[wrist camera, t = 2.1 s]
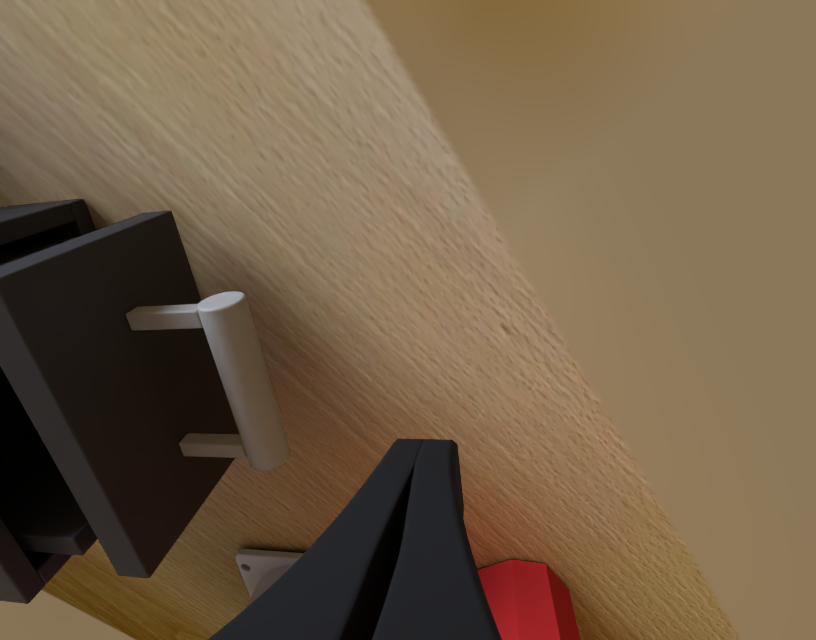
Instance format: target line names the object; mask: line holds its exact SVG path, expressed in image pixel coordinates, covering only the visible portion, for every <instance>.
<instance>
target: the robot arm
mask: <svg viewBox="0 0 816 640" xmlns="http://www.w3.org/2000/svg"><path fill="white" fill-rule="evenodd" d="M463 513H464V503H463V494H462V484H461V474H460V464H459V455H458V445H457V444H456V443H455V442H454V441H453V440H435V439H397V440H396V441H395V442H394V443H393V444H392V446H391V447H390V449H389V450H388V452H387V453H386V454H385V456H384V457H383V459H382V460H381V461H380V463H379V464H378V465H377V467H376V468H375V470H374V471H373V472H372V474H371V475H370V476H369V478H368V479H367V480H366V482H365V483H364V484H363V486H362V487H361V488H360V489H359V491H358V492H357V493H356V494H355V496H354V497H353V498H352V499H351V501H350V502H349V503H348V504H347V506H346V507H345V508H344V509H343V511H342V512H341V513H340V514H339V515H338V516H337V518H336V519H335V520H334V521H333V522H332V523H331V524H330V526H329V527H328V528H327V529H326V530H325V531H324V532H323V533H322V535H321V536H320V537H319V538H318V539H317V540H316V541H315V542H314V544H313V545H312V546H311V547H310V548H309V549H308V550H307V551H306V552H305V553H294V552H281V551H267V550H254V549H240V550H239V551H238V552H237V554H236V556H235V560H236V563H237V565H238V568H239V570H240V573H241V575H242V578H243V580H244V583H245V585H246V588H247V590H248V592H249V595H250V597H251V598H250V600H249V602H248V604H247V607H246V609H245V610H243V611H242V612H241V613H240V614H239V615H238V616H236V617H235V618H234V619H233V620H232V621H230V622H229V623H228V624H227V625H226V626H224V627H223V628H222V629H221V630H219V631H218V632H217V633H215V634H214V635H213V636H211V637H210V638H209V639H208V640H502V638H501V636H500V633H499V631H498V628H497V625H496V623H495V620H494V617H493V615H492V612H491V609H490V607H489V604H488V601H487V598H486V595H485V592H484V589H483V586H482V584H481V580H480V577H479V574H478V571H477V568H476V565H475V561H474V558H473V554H472V551H471V547H470V544H469V540H468V537H467V532H466V528H465V524H464V520H463Z"/></svg>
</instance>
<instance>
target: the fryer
mask: <svg viewBox="0 0 816 640" xmlns="http://www.w3.org/2000/svg"><path fill="white" fill-rule="evenodd" d="M93 231H96V229H95V227H94V224H93V222H92V219H91V217H90V214H89V212H88V210H87V207H86V205H85V202H84V200H83V199H74V200H65V201H55V202H46V203H36V204H27V205H17V206H8V207H0V246H2V245H5V244H8V243H17V242H29V241H40V240H52V239H64V238H76V237H80V236H83V235H85V234H88V233H91V232H93ZM71 556H72V555H69V554H57V553H46V552H34V551H23V550H22V549H21V548H20V546H19V545H18V543H17V542H16V540H15V539H14V537H13V536H12V534H11V533H10V531H9V530H8V528H7V527H6V525H5V524H4V522H3V521H2V519H1V518H0V601H8V602H17V603H26V604H28V603H30V601H31V600H32V599H33V598H34V597H35V596H36V595H37V594H38V593H39V592H40V590H41V589H42V588H43V587H44V586H45V584H46V583H48V582H49V581H50V579H51V578H52V577H53V576H54V575H55V574H56V573H57V572H58V571H59V570H60V568H61V567H62V566H63V565H64V564H65V563H66V562H67V561H68V560H69V559H70V557H71Z"/></svg>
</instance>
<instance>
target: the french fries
mask: <svg viewBox="0 0 816 640" xmlns="http://www.w3.org/2000/svg"><path fill="white" fill-rule="evenodd" d="M477 571H478V574H479V577H480V580H481V584H482V586H483V589H484V592H485V595H486V598H487V601H488V604H489V607H490V609H491V612H492V615H493V617H494V620H495V623H496V625H497V628H498V631H499V633H500V636H501V638H502V640H581V639H580V635H579V631H578V627H577V622H576V618H575V614H574V610H573V605H572V601H571V597H570V593H569V589H568V588H567V587H566V586H565V585H564V584H563V583H562V582H561V580H560V579H559V578H558V577H557V576H556V575H555V574H554V573H553V572H552V571H551V569H550V568H549V567H548V566H547V565H546V564H542V563H535V562H528V561H521V560H514V559H511V560H507V561H504V562H501V563H497V564H494V565H491V566H488V567H485V568H482V569H479V570H477Z"/></svg>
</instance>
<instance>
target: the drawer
mask: <svg viewBox="0 0 816 640" xmlns="http://www.w3.org/2000/svg"><path fill="white" fill-rule="evenodd" d="M289 456H290V447H289V443H288V440H287V436H286V433H285V429H284V426H283V422H282V419H281V416H280V412H279V409H278V405H277V402H276V398H275V395H274V391H273V388H272V385H271V381H270V378H269V374H268V371H267V367H266V364H265V360H264V357H263V354H262V350H261V347H260V343H259V340H258V336H257V333H256V329H255V326H254V323H253V319H252V316H251V312H250V309H249V305H248V302H247V298H246V296H245V294H244V293H242V292H237V291H231V292H223V293H219V294H215V295H212V296H210V297H208V298H206V299H204V300H202V301H201V298H200V295H199V292H198V289H197V286H196V283H195V280H194V277H193V274H192V271H191V268H190V265H189V262H188V259H187V256H186V253H185V250H184V247H183V244H182V241H181V238H180V235H179V232H178V229H177V226H176V223H175V220H174V217H173V214H172V212H171V211H161V212H150V213H142V214H139V215H137V216H134V217H131V218H129V219H126V220H123V221H120V222H118V223H115V224H112V225H110V226H107V227H104V228H101V229H99V230H96V231H93V232H91V233H88V234H85V235H83V236H80V237H76V238H64V239H52V240H40V241H29V242H17V243H8V244H5V245H2V246H0V518H1V519H2V521H3V522H4V524H5V525H6V527H7V528H8V530H9V531H10V533H11V534H12V536H13V537H14V539H15V540H16V542H17V543H18V545H19V546H20V548H21V549H22V550H23V551H34V552H46V553H57V554H69V555H81V556H82V555H84V554H85V552H86V551H87V550H88V549H89V548H90V547H91V546H92V545H93V543H94V542H95V541H96V540H97V539H98V540H99V542H100V544H101V545H102V547H103V549H104V551H105V552H106V554H107V556H108V558H109V560H110V561H111V563H112V565H113V567H114V568H115V570H116V572H117V574H118V575H119V576H129V577H140V578H150V577H151V575H152V574H153V573H154V571H155V570H156V568H157V567H158V566H159V564H160V563H161V561H162V560H163V559H164V557H165V556H166V554H167V553H168V552H169V550H170V549H171V547H172V546H173V545H174V543H175V542H176V540H177V539H178V538H179V536H180V535H181V533H182V532H183V531H184V529H185V528H186V526H187V525H188V524H189V522H190V521H191V519H192V518H193V517H194V515H195V514H196V512H197V511H198V510H199V508H200V507H201V505H202V504H203V503H204V501H205V500H206V498H207V497H208V496H209V494H210V493H211V491H212V490H213V489H214V487H215V486H216V484H217V483H218V482H219V480H220V479H221V477H222V476H223V475H224V473H225V472H226V470H227V469H228V468H229V466H230V465H231V463H232V462H233V461H234V459H235V458H246V457H248V460H249V463H250V466H251V467H252V468H253V469H255V470H257V471H270V470H273V469H276V468H278V467H280V466H281V465H283V464H284V463H285V462H286V461H287V460H288V458H289Z"/></svg>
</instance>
